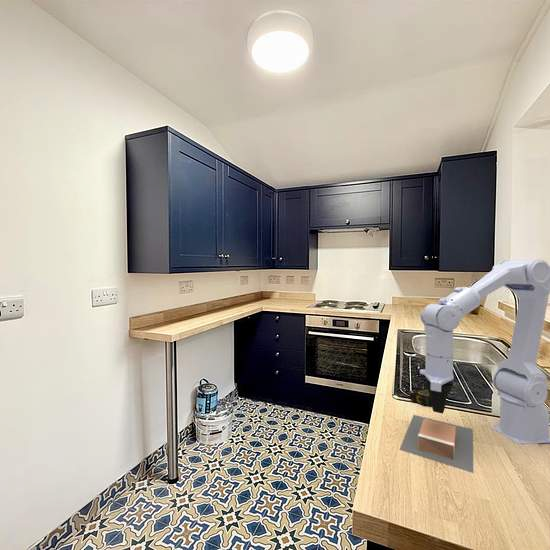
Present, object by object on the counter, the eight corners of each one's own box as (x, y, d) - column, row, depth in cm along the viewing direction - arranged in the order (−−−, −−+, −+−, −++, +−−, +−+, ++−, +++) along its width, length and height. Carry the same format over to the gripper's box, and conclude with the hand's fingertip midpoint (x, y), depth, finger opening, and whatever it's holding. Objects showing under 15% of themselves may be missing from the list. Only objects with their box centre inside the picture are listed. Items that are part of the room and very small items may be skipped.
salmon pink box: (423, 418, 76) (417, 435, 68) (456, 426, 72) (454, 445, 64) (423, 430, 76) (417, 449, 68) (455, 438, 72) (454, 460, 64)
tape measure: (422, 397, 97) (422, 386, 97) (442, 405, 91) (443, 393, 91) (409, 402, 94) (409, 390, 94) (430, 411, 88) (430, 398, 88)
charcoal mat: (413, 416, 84) (413, 414, 84) (472, 430, 76) (472, 429, 76) (399, 451, 68) (399, 449, 67) (473, 474, 60) (473, 472, 60)
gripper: (424, 346, 79) (423, 397, 79) (415, 359, 67) (415, 419, 67) (455, 350, 75) (454, 403, 75) (452, 364, 63) (451, 428, 63)
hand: (438, 411), depth 71 cm, fingers closed
